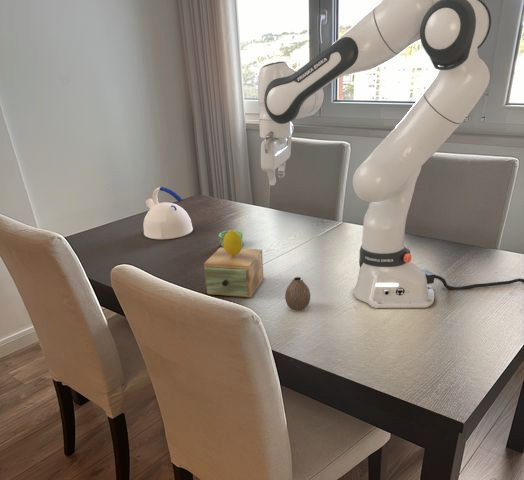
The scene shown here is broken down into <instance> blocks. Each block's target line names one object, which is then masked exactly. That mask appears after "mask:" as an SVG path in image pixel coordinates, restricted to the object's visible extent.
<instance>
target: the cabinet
mask: <svg viewBox="0 0 524 480" xmlns="http://www.w3.org/2000/svg"><path fill="white" fill-rule="evenodd" d="M263 258H264V257H263V249H256V248H241V251H240V252H239V253H238V254H236V255H235V256H232V255H230V254H228V253H227V252H226V251H225V249H224V248H223V247H222V246H220V247H219V248H218V249H217V250H215V252H214V253H213V254H211V255H210V257H209V258H207V259H206V261H204V262H203V268H204V269H203V270H204V271H205V267H223V268H239V269H247V279H248V293H249V295H248V296H239V295H227V294H214V293H207V292H206V293H207V295H214V296H228V297H240V298H252V297H253V295H254V294H255V292H256V291H257V289H258V288H259V287H260V285H261V284H262V282H263V281H264V278H265V277H264V259H263ZM204 277H205V276H204ZM205 279H206V277H205ZM205 285H206V284H205ZM206 288H207V285H206Z"/></svg>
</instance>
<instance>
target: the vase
mask: <svg viewBox="0 0 524 480" xmlns="http://www.w3.org/2000/svg"><path fill="white" fill-rule="evenodd" d="M284 299H285V303H286V305H287V307H288V308H289V309H291V310H292V311H296V312H300V311H301V312H302V311H303V310H305V309H306V308H308V306H309V304H310V301H311V291H310V288H309V286H308V285H307V284H306V282H305V281H304V279H303V278H302V277H299V276H296V277H293V278H292V280H291V282H290V283H289V285H288V286H287V287H286V289H285V294H284Z"/></svg>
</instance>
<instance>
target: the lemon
mask: <svg viewBox="0 0 524 480" xmlns="http://www.w3.org/2000/svg"><path fill="white" fill-rule="evenodd" d="M228 231H229V232H228V233H226V234H225V236H224V240H223V245H224V249H225V251H226V252H227V253H228V254H230V255H232V256H235V255H236V254H238V253H239V252H240V251H241V249H243V239H242V240H241V237H240V235H239V234H238V233H237V232H235V231H233V229H230V230H228Z"/></svg>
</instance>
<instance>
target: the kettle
mask: <svg viewBox="0 0 524 480" xmlns="http://www.w3.org/2000/svg"><path fill="white" fill-rule="evenodd" d="M160 191H162V192H165V193H166V194H169V195H170V196H172V197H173V198H174V199H175V200H176V201H177V203H181V202H183V201H184V200H183V198H182V197H181V196H180V195H179V194H178V193H177V192H175V191H173V190H171V189H169V188H168V187H164V186H159V187H156V188H155V189H154V190H153V192H152V196H151V197H152V198H148V199H146V201H144V202H145V203H144V204H145V206H146V207H147V208H148V209H149V210H148V211H147V213H146V215H145V217H144V219H143V222H142V226H143V236H144V237H146V238H148V239H151V240H161V241H162V240H163V241H164V240H173V239H174V240H175V239H178V238H182V237H185V236H188V235H189V234H191V233H192V232H193V230H194V227H193V223H192V219H191V217H190V215H189V214H188V212H187V211H186V210H185V209H184V208H183V207H181V206H180V205H179V204H176V203H173V202H165V201H164V202H159V199H158V196H159V195H158V194H159V192H160Z"/></svg>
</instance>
